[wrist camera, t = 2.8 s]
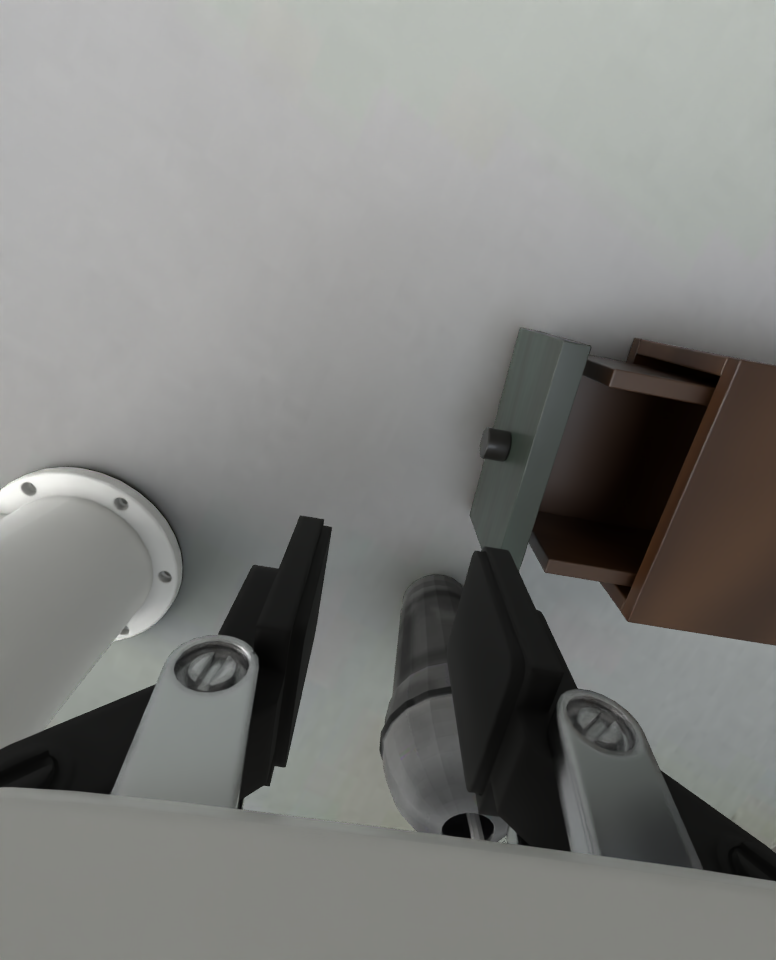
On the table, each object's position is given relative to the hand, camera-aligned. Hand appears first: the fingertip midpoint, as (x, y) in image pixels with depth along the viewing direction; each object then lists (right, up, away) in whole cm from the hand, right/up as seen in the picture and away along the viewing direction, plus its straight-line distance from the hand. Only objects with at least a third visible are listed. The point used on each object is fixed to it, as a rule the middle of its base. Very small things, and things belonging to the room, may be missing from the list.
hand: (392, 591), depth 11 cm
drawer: (+12, +5, +18) cm, 22 cm away
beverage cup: (+3, -6, +23) cm, 24 cm away
